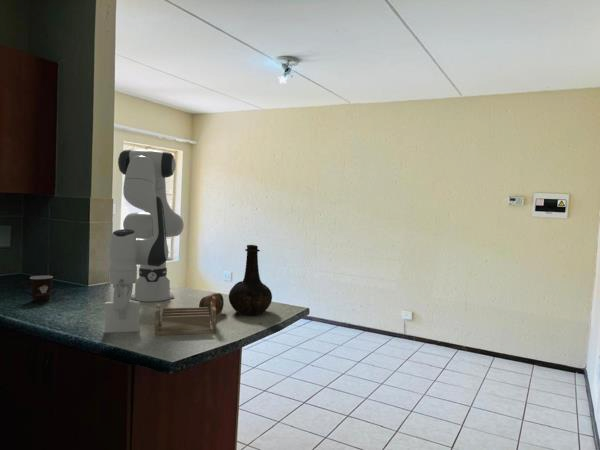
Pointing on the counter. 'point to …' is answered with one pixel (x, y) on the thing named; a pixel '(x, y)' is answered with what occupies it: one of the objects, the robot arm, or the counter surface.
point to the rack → (185, 320)
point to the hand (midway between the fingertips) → (122, 317)
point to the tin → (208, 299)
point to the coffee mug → (40, 287)
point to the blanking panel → (128, 323)
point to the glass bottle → (250, 288)
